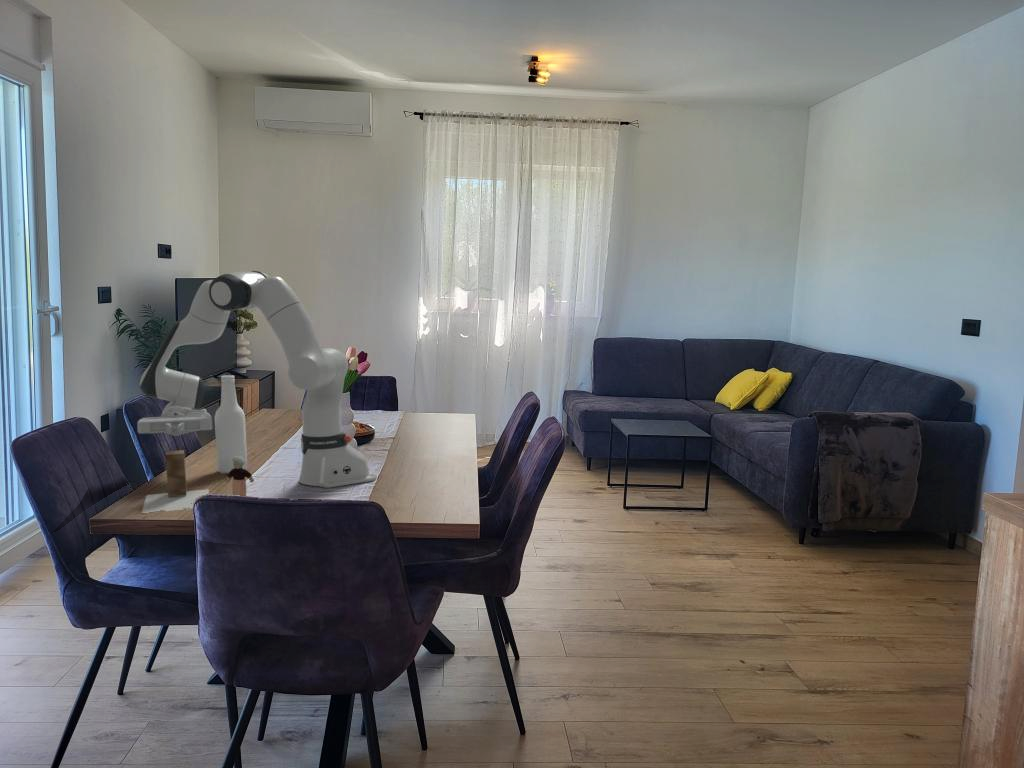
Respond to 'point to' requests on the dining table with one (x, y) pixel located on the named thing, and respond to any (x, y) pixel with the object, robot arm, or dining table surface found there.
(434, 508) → the dining table surface
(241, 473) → the grandmother figurine
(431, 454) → the dining table surface
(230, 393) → the alcohol
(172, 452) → the walnut block
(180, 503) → the felt mat
